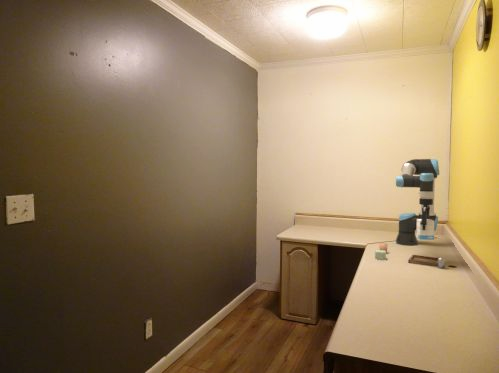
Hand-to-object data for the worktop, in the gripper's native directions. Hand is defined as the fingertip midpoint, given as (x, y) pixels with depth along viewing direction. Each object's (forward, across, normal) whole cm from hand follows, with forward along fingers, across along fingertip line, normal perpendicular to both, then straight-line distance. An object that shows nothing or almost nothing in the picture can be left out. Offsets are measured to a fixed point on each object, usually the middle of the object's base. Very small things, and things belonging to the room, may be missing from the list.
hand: (425, 233), depth 222 cm
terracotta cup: (+18, -11, -27) cm, 34 cm away
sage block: (+18, +6, -25) cm, 31 cm away
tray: (+18, 0, 0) cm, 18 cm away
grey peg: (+18, +8, +10) cm, 22 cm away
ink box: (+3, 0, 0) cm, 3 cm away
